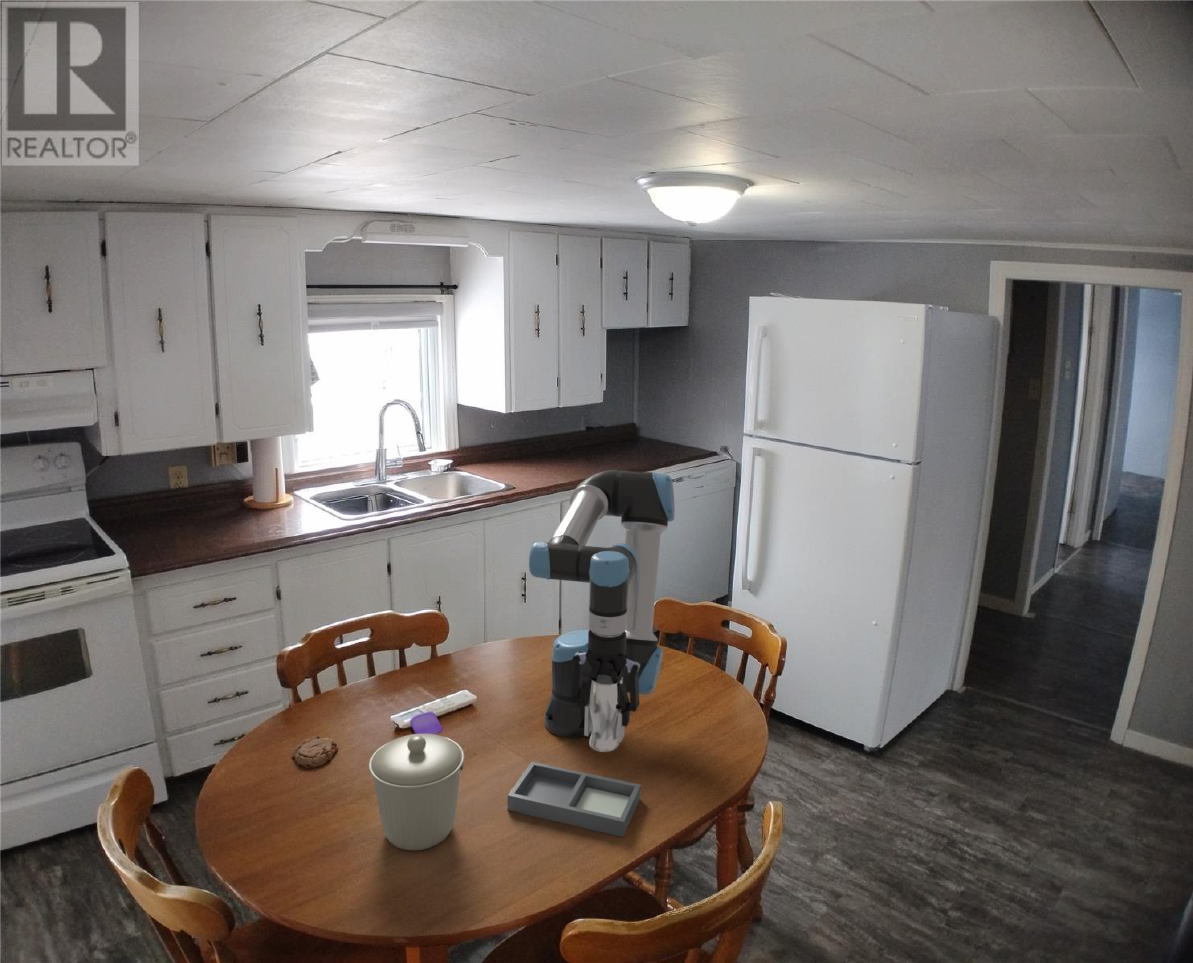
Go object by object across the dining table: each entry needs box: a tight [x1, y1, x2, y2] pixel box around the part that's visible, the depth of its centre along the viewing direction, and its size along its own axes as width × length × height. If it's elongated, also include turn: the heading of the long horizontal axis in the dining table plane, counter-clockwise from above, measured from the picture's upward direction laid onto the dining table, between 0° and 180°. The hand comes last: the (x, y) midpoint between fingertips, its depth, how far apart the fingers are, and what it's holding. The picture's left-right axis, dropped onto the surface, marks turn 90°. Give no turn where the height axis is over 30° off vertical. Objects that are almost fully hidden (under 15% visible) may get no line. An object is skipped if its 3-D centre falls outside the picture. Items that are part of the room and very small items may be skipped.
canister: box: [368, 733, 465, 851], centre depth 157 cm, size 18×18×21 cm
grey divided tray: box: [507, 761, 641, 838], centre depth 169 cm, size 25×13×4 cm, turn 72°
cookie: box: [291, 735, 339, 769], centre depth 185 cm, size 10×11×3 cm
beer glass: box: [588, 675, 623, 753], centre depth 162 cm, size 7×7×15 cm
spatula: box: [409, 711, 443, 735], centre depth 190 cm, size 24×7×2 cm, turn 32°
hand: (604, 735), depth 164 cm, fingers closed on beer glass, 6 cm apart
